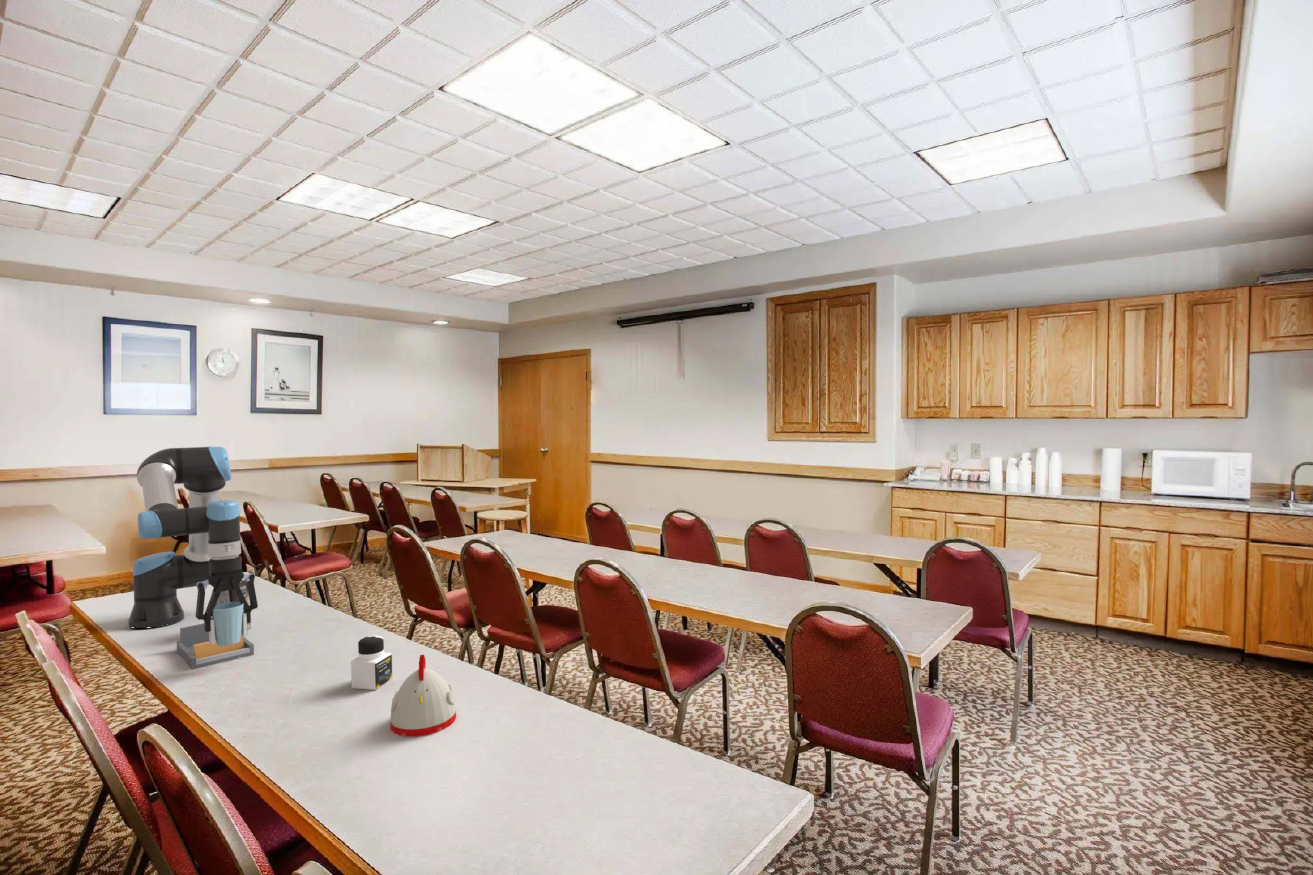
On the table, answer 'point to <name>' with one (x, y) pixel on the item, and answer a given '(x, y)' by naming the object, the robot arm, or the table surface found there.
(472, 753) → the table surface
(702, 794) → the table surface
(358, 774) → the table surface
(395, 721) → the kitchen timer
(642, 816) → the table surface
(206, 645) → the pusher
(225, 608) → the cup
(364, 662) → the medicine bottle
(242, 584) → the coffee box
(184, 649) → the grey open rectangular box
